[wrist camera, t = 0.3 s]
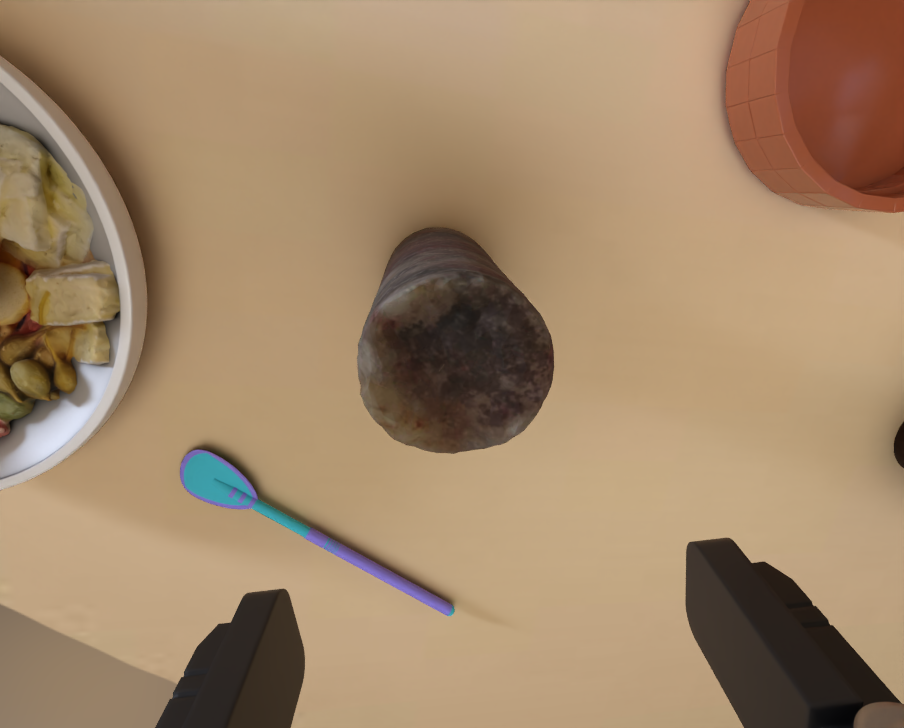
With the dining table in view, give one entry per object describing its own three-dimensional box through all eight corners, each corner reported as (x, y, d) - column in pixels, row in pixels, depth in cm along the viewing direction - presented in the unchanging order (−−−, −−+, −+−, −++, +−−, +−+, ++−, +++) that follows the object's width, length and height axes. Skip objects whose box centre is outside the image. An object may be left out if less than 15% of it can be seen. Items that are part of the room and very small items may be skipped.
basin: (721, -65, 32) (783, -119, 26) (1005, -108, 32) (1129, -172, 26) (717, 224, 37) (768, 230, 32) (962, 189, 37) (1058, 189, 31)
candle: (512, 250, 37) (592, 316, 18) (473, 347, 39) (508, 496, 20) (406, 209, 36) (375, 235, 17) (372, 311, 38) (310, 433, 19)
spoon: (172, 479, 42) (165, 488, 41) (194, 438, 41) (187, 445, 40) (450, 611, 47) (450, 622, 45) (476, 577, 45) (477, 587, 44)
